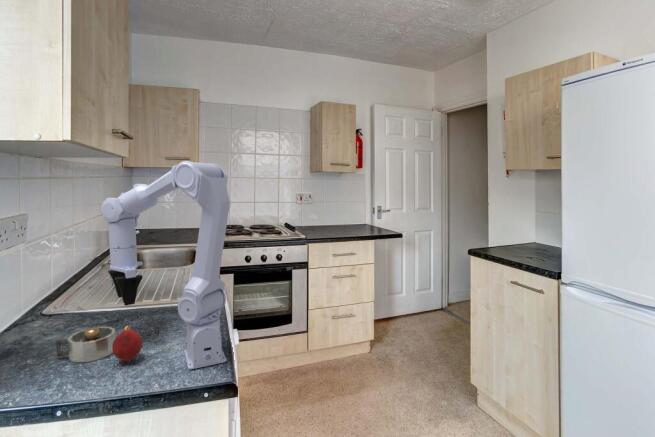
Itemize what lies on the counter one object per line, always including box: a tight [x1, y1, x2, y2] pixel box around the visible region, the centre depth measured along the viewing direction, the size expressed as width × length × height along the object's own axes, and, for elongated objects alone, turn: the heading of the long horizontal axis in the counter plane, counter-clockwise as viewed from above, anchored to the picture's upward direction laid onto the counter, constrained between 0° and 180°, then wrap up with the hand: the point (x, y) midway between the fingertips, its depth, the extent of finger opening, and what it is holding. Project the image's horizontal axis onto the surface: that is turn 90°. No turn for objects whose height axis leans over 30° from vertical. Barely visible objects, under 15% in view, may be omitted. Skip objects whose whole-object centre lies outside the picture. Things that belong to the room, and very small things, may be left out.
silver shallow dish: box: [55, 326, 117, 364], centre depth 82 cm, size 9×11×4 cm
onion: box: [112, 325, 143, 362], centre depth 79 cm, size 6×6×8 cm
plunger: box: [84, 326, 100, 341], centre depth 82 cm, size 6×6×5 cm
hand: (126, 300), depth 88 cm, fingers open, 7 cm apart
